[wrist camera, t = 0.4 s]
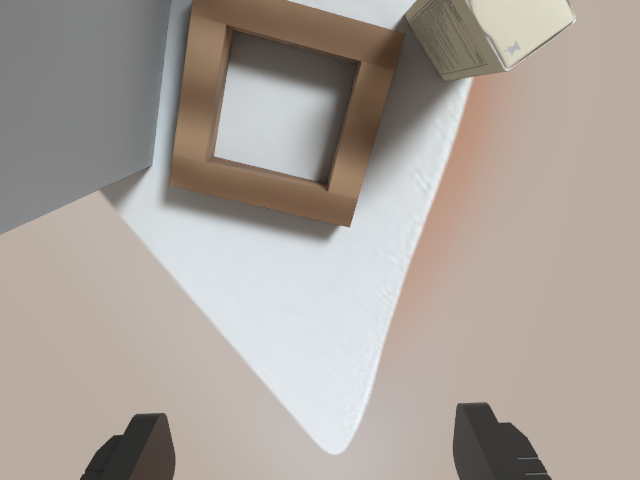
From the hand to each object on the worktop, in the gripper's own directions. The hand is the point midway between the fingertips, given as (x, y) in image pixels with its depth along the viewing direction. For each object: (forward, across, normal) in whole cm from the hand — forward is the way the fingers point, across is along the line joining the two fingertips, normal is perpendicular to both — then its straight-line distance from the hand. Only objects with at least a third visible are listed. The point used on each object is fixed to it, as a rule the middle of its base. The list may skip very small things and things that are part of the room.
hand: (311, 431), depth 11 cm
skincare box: (+27, -11, -12) cm, 32 cm away
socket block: (+27, +2, -7) cm, 28 cm away
